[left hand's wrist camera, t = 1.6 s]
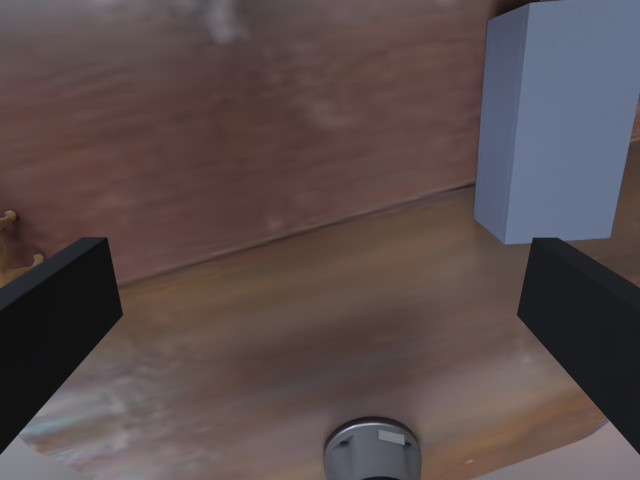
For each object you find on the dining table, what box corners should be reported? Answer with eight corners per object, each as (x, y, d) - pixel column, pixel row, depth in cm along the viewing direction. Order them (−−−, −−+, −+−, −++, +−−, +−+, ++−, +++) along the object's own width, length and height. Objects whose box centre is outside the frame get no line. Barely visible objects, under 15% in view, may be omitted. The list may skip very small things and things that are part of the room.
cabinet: (487, 20, 41) (530, 2, 33) (590, 12, 41) (660, -8, 33) (473, 218, 49) (505, 245, 41) (560, 212, 49) (610, 238, 40)
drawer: (504, -81, 37) (544, -118, 31) (606, -90, 37) (668, -129, 31) (483, 186, 47) (510, 202, 40) (565, 180, 46) (605, 195, 40)
